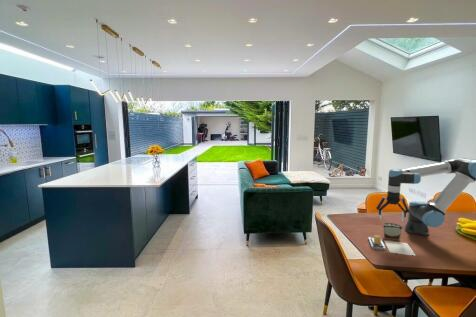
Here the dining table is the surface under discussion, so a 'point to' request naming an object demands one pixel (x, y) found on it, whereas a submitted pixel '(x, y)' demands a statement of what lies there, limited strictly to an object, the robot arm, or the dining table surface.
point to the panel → (375, 246)
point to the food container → (392, 231)
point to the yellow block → (377, 239)
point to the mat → (399, 248)
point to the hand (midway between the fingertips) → (391, 220)
